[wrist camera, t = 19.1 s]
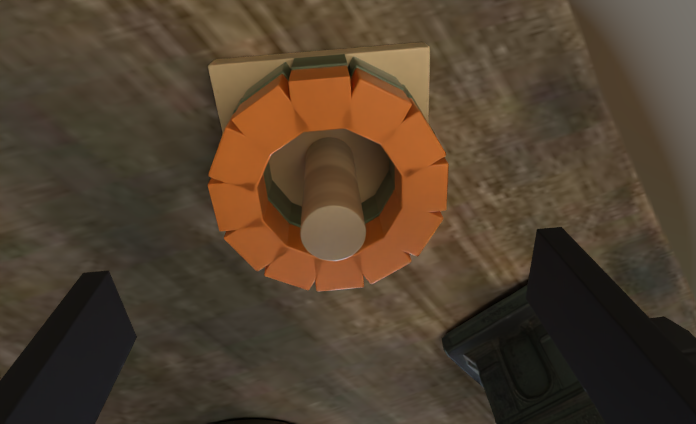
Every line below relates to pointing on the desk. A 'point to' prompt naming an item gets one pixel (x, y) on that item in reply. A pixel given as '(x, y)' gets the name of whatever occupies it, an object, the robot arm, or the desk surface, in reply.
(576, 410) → the model
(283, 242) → the orange ring
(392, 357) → the desk surface
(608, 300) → the robot arm
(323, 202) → the stacker
